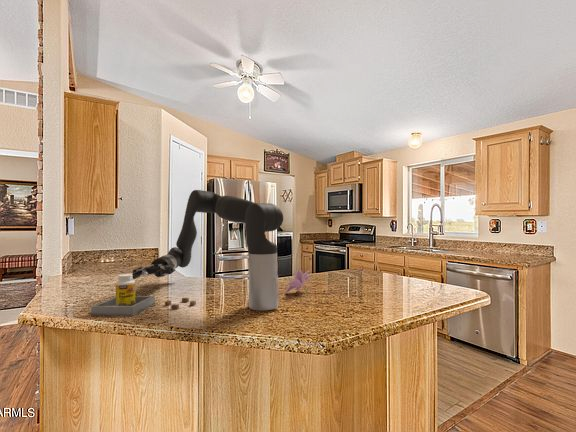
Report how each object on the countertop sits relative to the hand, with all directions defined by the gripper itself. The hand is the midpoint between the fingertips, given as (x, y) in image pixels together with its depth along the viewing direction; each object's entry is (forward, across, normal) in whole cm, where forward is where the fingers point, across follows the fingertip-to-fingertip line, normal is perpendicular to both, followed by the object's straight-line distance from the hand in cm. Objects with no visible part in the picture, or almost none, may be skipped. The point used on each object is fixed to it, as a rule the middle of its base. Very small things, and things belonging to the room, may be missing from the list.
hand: (145, 275), depth 109 cm
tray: (+12, -2, +8) cm, 14 cm away
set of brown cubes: (+8, +14, +9) cm, 19 cm away
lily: (-7, +54, +13) cm, 56 cm away
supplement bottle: (+12, -2, +7) cm, 14 cm away
